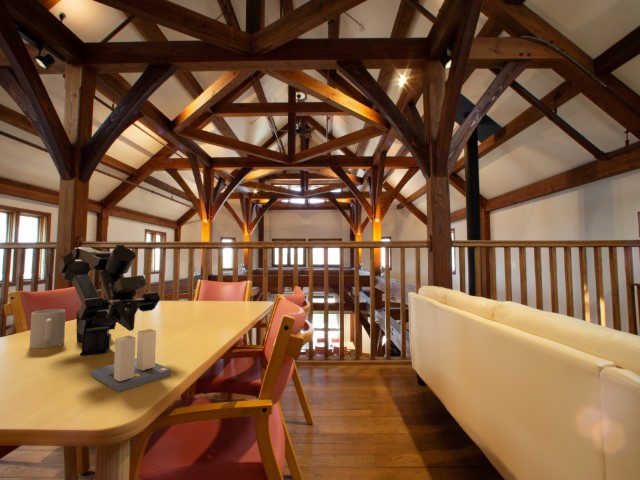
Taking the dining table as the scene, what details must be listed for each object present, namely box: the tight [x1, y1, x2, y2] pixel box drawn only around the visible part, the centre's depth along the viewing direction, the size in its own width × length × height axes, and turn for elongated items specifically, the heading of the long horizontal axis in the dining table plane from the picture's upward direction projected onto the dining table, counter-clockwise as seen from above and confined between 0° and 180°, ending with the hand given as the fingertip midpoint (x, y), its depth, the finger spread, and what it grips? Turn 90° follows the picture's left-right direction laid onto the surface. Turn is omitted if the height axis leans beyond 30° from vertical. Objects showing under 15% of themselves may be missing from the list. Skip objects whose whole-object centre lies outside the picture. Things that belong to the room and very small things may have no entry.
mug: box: [29, 308, 66, 350], centre depth 98 cm, size 12×8×11 cm
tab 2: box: [136, 328, 157, 371], centre depth 76 cm, size 3×3×9 cm
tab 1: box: [113, 335, 136, 381], centre depth 70 cm, size 3×3×9 cm
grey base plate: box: [91, 357, 171, 393], centre depth 75 cm, size 15×12×2 cm
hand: (131, 329), depth 81 cm, fingers closed
